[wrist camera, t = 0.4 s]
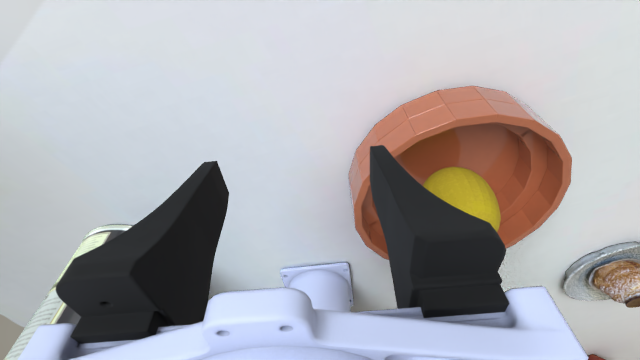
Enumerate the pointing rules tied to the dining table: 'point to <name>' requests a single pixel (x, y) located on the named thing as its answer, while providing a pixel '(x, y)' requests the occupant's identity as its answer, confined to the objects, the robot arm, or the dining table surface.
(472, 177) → the lemon
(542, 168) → the bowl
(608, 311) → the dining table surface
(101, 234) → the coffee can
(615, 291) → the pastry
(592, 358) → the onion
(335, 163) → the dining table surface
